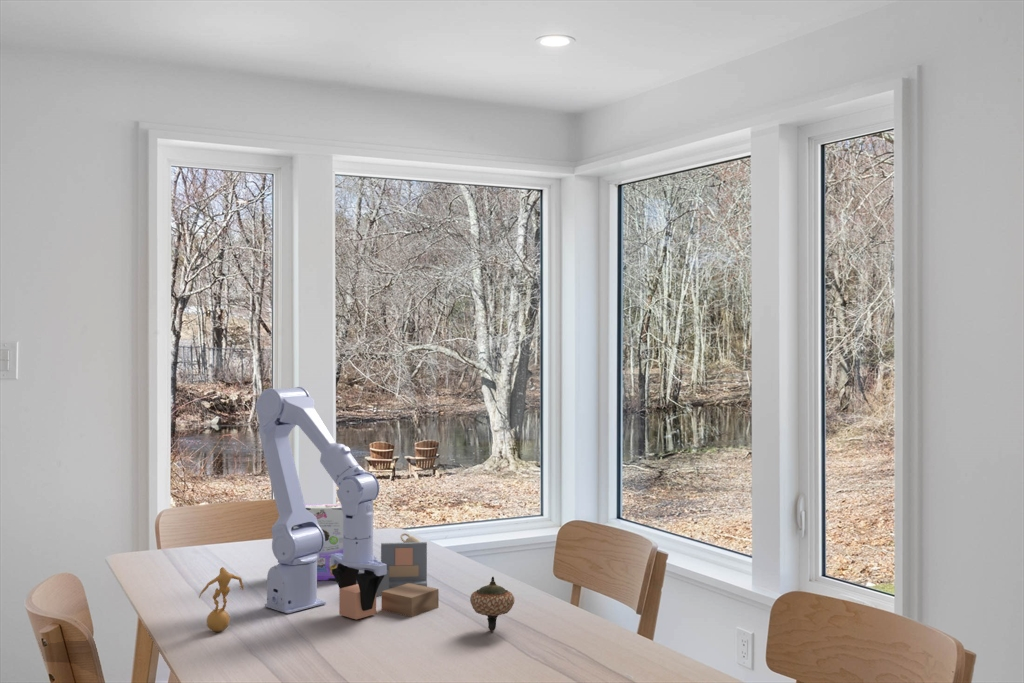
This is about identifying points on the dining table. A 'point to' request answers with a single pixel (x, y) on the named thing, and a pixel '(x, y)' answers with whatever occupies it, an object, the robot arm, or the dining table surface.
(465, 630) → the dining table surface
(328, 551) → the candy box
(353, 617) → the terracotta cube
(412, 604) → the walnut base block
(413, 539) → the decorative ornament
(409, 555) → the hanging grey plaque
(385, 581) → the charcoal cube
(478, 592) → the acorn
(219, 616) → the figurine
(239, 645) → the dining table surface
